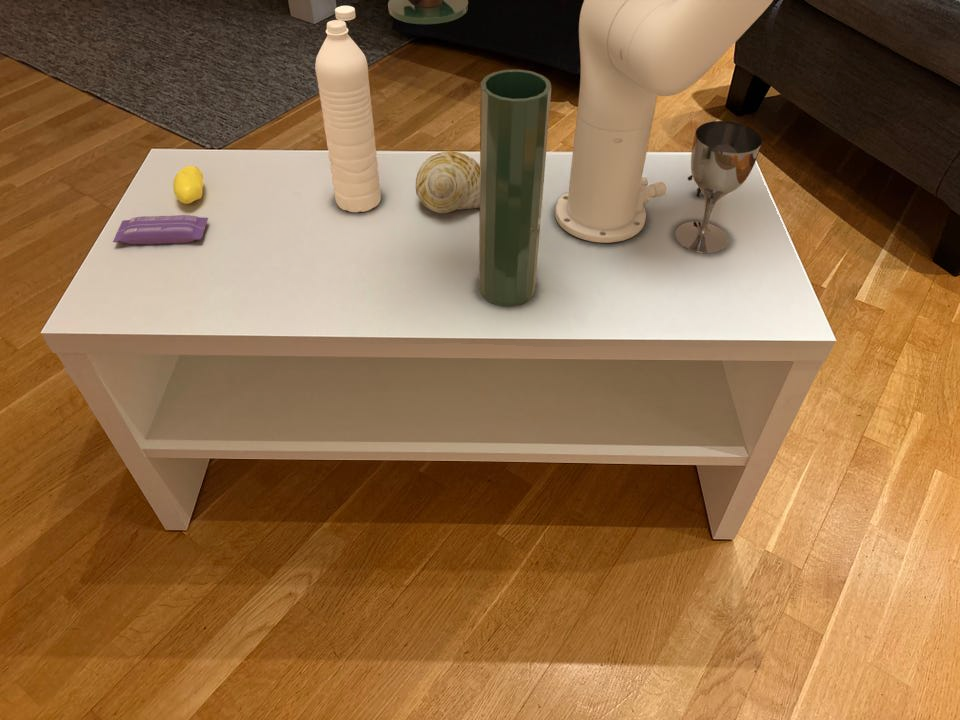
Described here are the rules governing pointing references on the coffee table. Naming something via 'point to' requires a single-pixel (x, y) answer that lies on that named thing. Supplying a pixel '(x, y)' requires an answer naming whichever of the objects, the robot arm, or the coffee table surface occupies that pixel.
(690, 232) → the wine glass
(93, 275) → the coffee table surface
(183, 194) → the lemon
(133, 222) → the snack package
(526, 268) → the green cylindrical vase
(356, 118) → the water bottle
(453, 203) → the seashell
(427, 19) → the lid
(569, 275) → the coffee table surface
